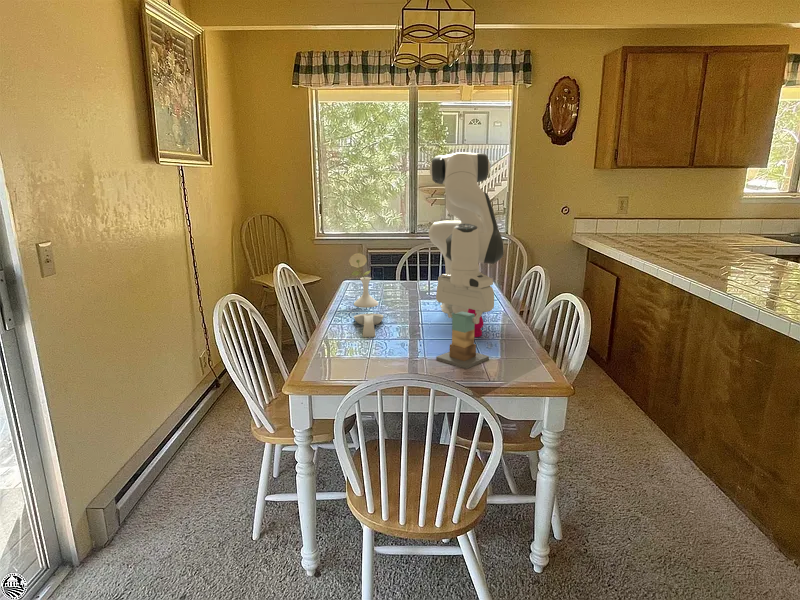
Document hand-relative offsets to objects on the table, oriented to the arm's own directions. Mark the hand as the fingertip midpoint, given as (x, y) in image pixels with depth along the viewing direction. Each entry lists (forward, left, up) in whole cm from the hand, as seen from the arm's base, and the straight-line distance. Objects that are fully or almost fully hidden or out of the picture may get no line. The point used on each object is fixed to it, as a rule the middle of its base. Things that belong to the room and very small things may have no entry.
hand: (463, 320), depth 159 cm
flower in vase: (-23, -72, -13) cm, 76 cm away
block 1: (0, 0, -3) cm, 3 cm away
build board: (0, 0, -13) cm, 13 cm away
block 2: (0, 0, -8) cm, 8 cm away
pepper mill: (-24, -13, -13) cm, 30 cm away
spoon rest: (-2, -47, -13) cm, 48 cm away
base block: (0, 0, -12) cm, 12 cm away
